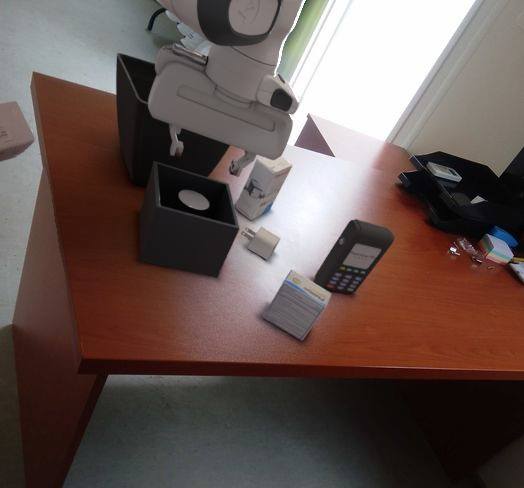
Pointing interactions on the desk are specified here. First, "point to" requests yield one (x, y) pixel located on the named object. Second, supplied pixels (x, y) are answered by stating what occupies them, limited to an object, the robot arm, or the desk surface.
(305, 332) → the medicine box
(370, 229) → the card reader
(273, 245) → the usb wall charger
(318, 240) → the desk surface
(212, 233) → the trash bin
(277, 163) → the ink box
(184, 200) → the drink can
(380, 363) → the desk surface
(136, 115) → the flower pot
